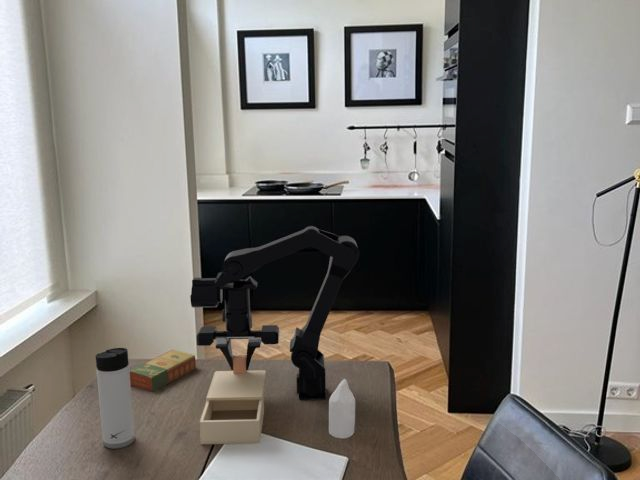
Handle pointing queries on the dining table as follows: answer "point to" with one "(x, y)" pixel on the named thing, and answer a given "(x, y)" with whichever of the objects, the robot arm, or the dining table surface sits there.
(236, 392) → the lid panel
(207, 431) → the kraft box
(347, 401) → the white pointed cylinder
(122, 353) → the travel mug
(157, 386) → the carton
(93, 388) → the dining table surface
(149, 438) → the dining table surface
